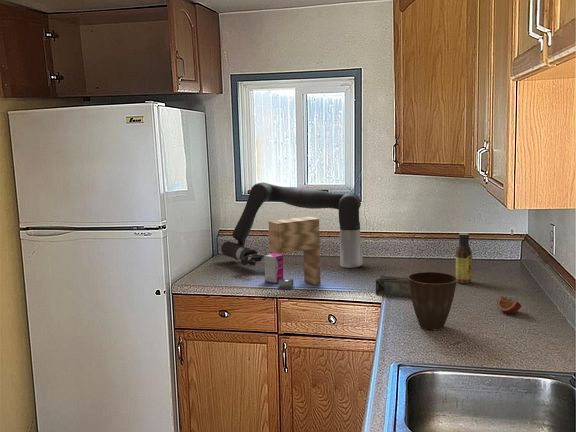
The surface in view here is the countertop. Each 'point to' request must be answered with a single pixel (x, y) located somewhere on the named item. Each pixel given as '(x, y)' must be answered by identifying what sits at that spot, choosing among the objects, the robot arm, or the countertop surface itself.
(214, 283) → the countertop surface
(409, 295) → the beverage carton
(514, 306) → the fruit slice
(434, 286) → the plant pot
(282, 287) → the dark gray cylinder
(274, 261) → the supplement box
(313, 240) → the wooden l-shaped block
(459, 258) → the sauce bottle
